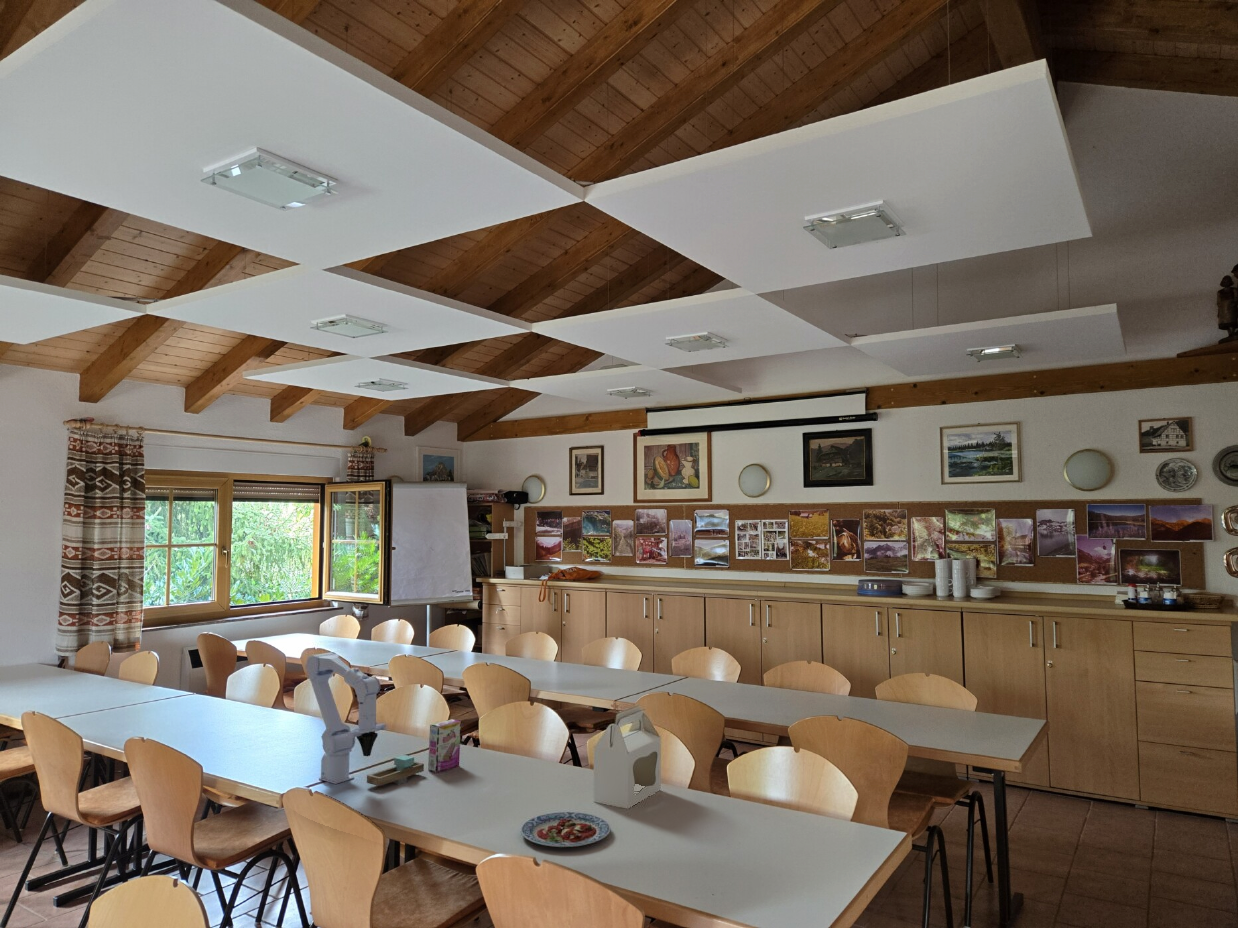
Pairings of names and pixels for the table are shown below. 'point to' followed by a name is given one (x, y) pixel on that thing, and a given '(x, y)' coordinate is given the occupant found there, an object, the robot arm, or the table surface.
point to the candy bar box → (444, 745)
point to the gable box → (627, 761)
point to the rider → (403, 762)
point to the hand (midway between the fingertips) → (366, 755)
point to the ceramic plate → (565, 829)
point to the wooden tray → (394, 775)
